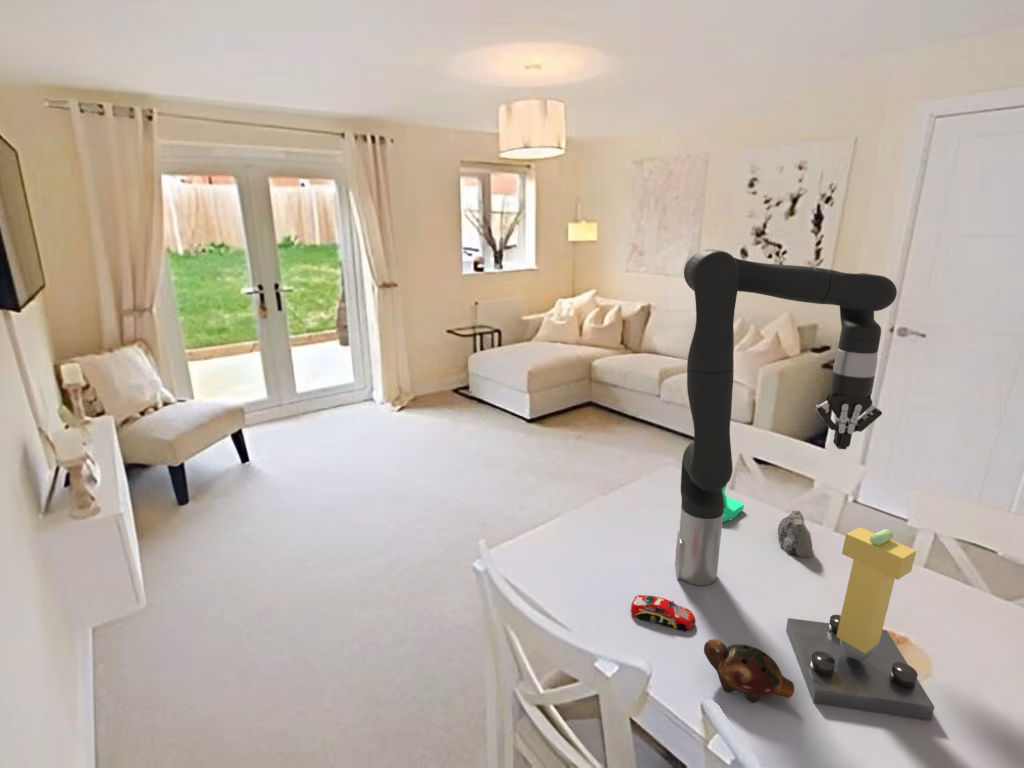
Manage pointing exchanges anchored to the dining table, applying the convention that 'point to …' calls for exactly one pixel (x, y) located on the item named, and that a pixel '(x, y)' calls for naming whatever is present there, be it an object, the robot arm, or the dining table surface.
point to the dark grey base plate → (856, 672)
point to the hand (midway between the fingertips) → (840, 447)
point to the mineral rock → (795, 535)
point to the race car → (662, 612)
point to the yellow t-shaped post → (870, 588)
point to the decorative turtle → (747, 671)
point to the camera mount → (731, 507)
